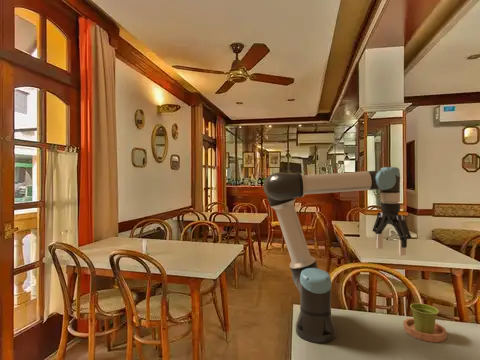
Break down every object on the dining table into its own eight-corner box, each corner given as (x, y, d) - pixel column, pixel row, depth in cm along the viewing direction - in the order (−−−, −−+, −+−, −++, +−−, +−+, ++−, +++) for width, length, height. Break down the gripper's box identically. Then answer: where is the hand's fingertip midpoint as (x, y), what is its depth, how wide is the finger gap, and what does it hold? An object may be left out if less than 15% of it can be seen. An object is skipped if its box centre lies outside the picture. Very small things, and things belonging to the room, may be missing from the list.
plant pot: (443, 338, 109) (443, 314, 109) (415, 335, 110) (415, 312, 111) (432, 326, 118) (431, 304, 118) (406, 323, 120) (406, 302, 120)
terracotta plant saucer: (406, 337, 111) (406, 330, 111) (401, 321, 124) (401, 315, 124) (450, 345, 105) (450, 338, 105) (441, 328, 118) (441, 322, 118)
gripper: (421, 204, 117) (421, 258, 116) (378, 201, 141) (378, 245, 140) (405, 204, 115) (405, 259, 114) (364, 201, 139) (364, 246, 139)
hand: (390, 251), depth 127 cm, fingers open, 13 cm apart
